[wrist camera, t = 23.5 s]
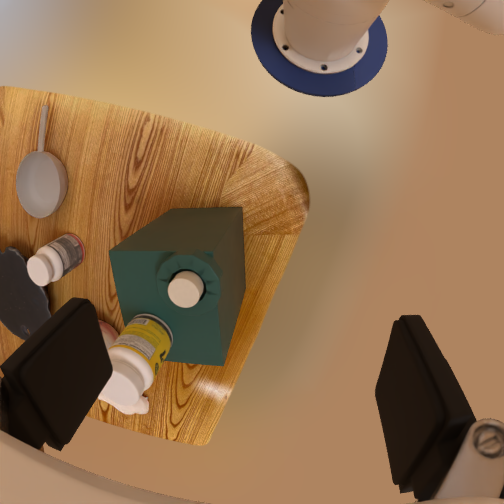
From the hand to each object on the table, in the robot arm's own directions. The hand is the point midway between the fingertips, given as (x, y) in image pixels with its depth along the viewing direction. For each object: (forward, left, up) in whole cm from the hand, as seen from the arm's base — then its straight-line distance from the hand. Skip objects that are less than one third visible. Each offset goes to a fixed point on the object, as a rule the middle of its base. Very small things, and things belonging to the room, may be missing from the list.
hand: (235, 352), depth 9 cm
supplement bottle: (+11, -12, -17) cm, 23 cm away
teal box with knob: (+9, -10, -34) cm, 36 cm away
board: (+17, -50, -34) cm, 62 cm away
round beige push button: (+5, -7, -15) cm, 18 cm away
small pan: (-6, -36, -34) cm, 50 cm away
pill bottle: (+9, -34, -34) cm, 49 cm away
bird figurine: (+40, -30, -34) cm, 60 cm away
